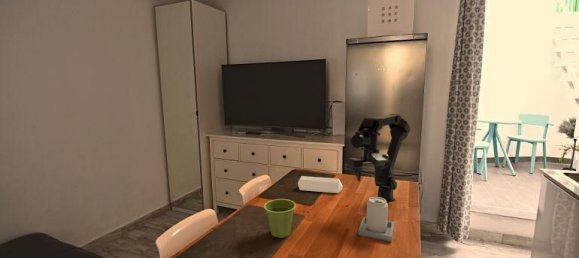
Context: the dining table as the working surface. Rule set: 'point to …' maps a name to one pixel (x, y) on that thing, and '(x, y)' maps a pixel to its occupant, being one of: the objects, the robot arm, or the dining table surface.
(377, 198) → the can
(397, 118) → the robot arm
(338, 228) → the dining table surface
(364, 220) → the tray
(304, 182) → the crystal
